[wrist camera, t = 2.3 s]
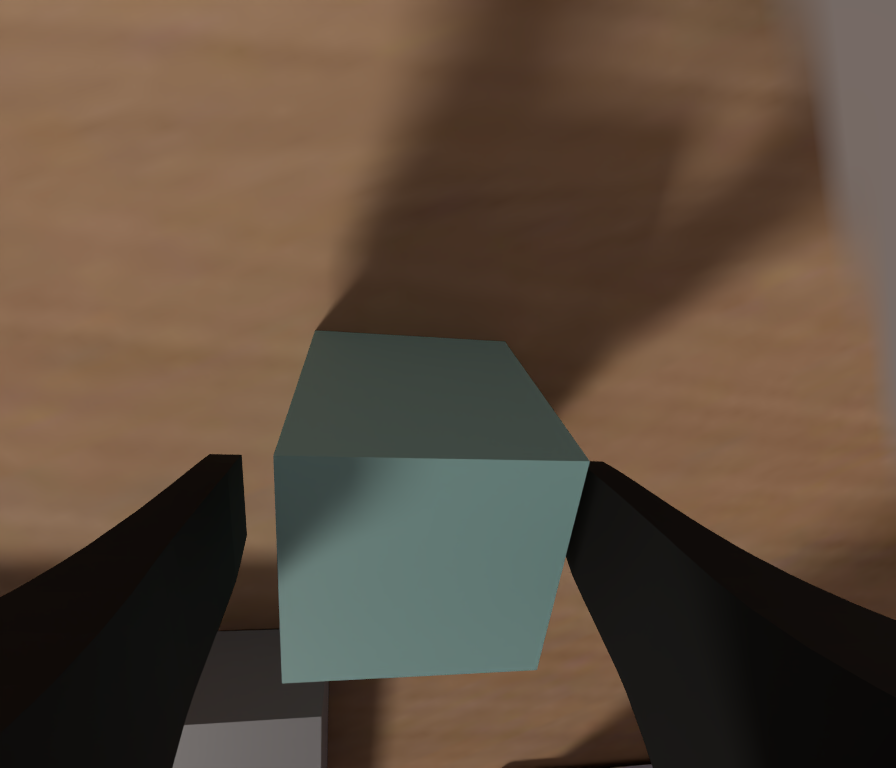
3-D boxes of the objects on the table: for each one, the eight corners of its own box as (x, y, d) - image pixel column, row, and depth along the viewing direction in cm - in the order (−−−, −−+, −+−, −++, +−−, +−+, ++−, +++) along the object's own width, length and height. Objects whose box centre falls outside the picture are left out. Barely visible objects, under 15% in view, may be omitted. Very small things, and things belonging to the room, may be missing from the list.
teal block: (504, 340, 14) (590, 461, 8) (480, 492, 16) (536, 669, 10) (315, 329, 13) (273, 455, 7) (315, 491, 15) (282, 683, 9)
